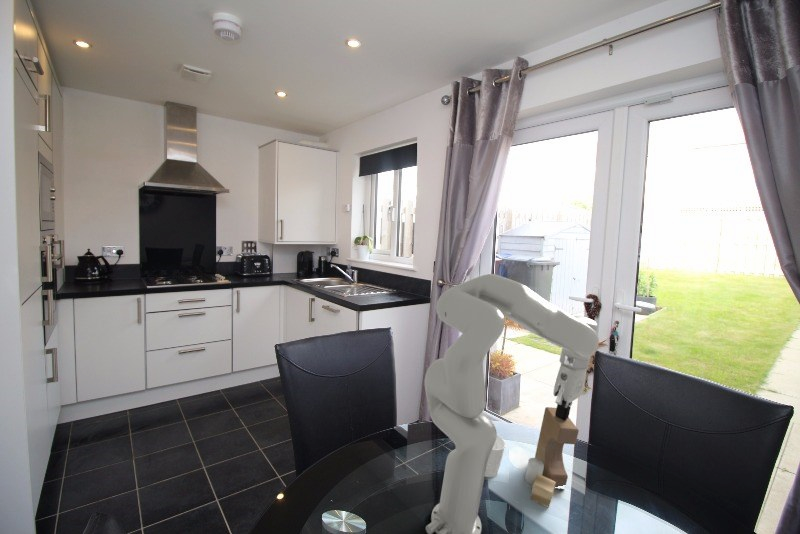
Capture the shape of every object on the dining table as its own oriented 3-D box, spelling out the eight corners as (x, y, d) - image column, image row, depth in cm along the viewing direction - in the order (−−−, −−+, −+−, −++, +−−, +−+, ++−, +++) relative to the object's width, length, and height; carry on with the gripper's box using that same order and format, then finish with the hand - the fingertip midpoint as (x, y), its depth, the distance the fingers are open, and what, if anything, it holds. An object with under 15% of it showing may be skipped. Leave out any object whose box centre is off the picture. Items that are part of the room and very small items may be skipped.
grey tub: (535, 488, 114) (539, 470, 112) (522, 479, 117) (525, 461, 116) (543, 481, 117) (546, 464, 115) (529, 472, 120) (533, 455, 119)
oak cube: (548, 508, 107) (552, 492, 106) (530, 498, 110) (533, 483, 109) (552, 496, 111) (555, 481, 110) (534, 488, 114) (537, 473, 113)
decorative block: (565, 490, 114) (579, 430, 110) (546, 489, 114) (560, 428, 110) (550, 463, 125) (563, 407, 121) (533, 462, 125) (544, 406, 120)
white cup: (468, 462, 121) (473, 434, 119) (489, 458, 124) (494, 430, 122) (483, 481, 114) (488, 451, 112) (505, 476, 117) (510, 447, 115)
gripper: (576, 371, 103) (562, 432, 107) (598, 359, 113) (584, 415, 117) (549, 360, 109) (536, 418, 113) (573, 349, 119) (560, 403, 123)
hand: (561, 417), depth 115 cm, fingers closed
